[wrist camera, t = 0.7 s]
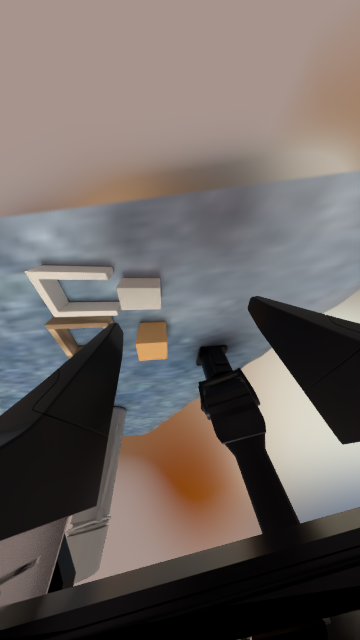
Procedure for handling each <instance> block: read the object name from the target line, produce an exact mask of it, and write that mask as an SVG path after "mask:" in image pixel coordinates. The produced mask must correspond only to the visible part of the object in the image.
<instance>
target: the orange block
mask: <svg viewBox="0 0 360 640" xmlns="http://www.w3.org/2000/svg"><path fill="white" fill-rule="evenodd" d="M136 347H137V352H138V357H139V361H144V360H157V359H167V332H166V322H146V323H140V324H139V329H138V335H137V340H136Z"/></svg>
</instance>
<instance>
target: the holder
mask: <svg viewBox="0 0 360 640" xmlns="http://www.w3.org/2000/svg"><path fill="white" fill-rule="evenodd" d="M111 323H114V322H113V319H112V316H79V317H53V318H52V319H51V320H50V321H48V322H47V323H46V324H45V326H46V328H47V329H48V330H49V332H50V333H51V334H52V336H53V337H54V338H55V340H56V341H57V342H58V344H59V345H60V346H61V348H62V349H63V350H64V352H65V353H66V354H67V356H68V357H69V358H71V357H72V356H73V355H75V354H76V353H77V352H78V351H79V350H80V349H81V348H83V347H84V346H81V347H78V345H77V343H76V342H75V340H74V338H73V337H72V335H71V334H70V332H69V330H68V329H69V328H94V327H103V328H106V327H107V326H108V325H109V324H111Z"/></svg>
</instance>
